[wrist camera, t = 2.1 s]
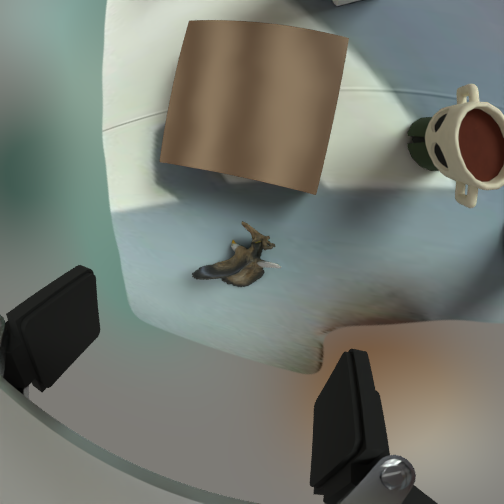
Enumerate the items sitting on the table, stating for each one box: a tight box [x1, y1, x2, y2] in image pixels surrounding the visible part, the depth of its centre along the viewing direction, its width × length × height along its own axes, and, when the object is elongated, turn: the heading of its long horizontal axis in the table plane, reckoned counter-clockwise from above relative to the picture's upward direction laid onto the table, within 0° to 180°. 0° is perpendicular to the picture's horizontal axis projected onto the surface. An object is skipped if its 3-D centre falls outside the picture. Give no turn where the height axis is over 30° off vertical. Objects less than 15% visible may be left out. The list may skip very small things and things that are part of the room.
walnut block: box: [160, 20, 349, 195], centre depth 26 cm, size 16×16×6 cm
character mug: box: [408, 84, 504, 208], centre depth 20 cm, size 11×7×13 cm, turn 1°
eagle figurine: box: [192, 221, 281, 287], centre depth 33 cm, size 8×7×9 cm
